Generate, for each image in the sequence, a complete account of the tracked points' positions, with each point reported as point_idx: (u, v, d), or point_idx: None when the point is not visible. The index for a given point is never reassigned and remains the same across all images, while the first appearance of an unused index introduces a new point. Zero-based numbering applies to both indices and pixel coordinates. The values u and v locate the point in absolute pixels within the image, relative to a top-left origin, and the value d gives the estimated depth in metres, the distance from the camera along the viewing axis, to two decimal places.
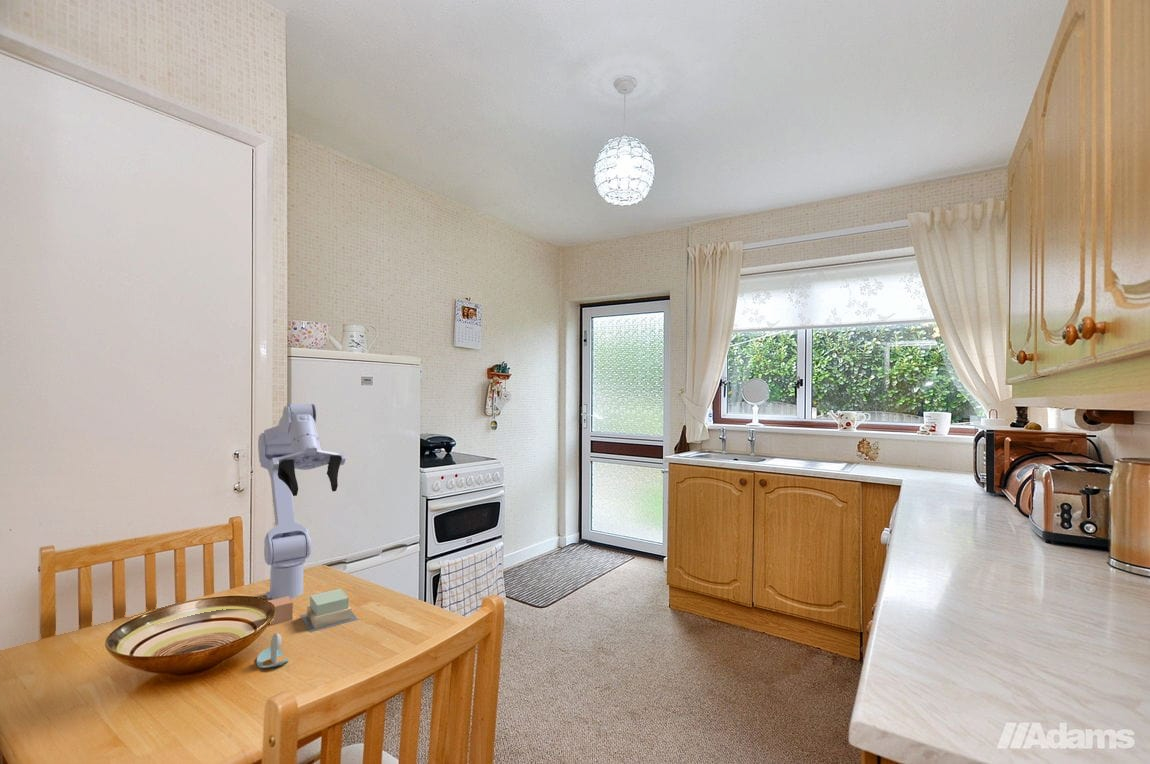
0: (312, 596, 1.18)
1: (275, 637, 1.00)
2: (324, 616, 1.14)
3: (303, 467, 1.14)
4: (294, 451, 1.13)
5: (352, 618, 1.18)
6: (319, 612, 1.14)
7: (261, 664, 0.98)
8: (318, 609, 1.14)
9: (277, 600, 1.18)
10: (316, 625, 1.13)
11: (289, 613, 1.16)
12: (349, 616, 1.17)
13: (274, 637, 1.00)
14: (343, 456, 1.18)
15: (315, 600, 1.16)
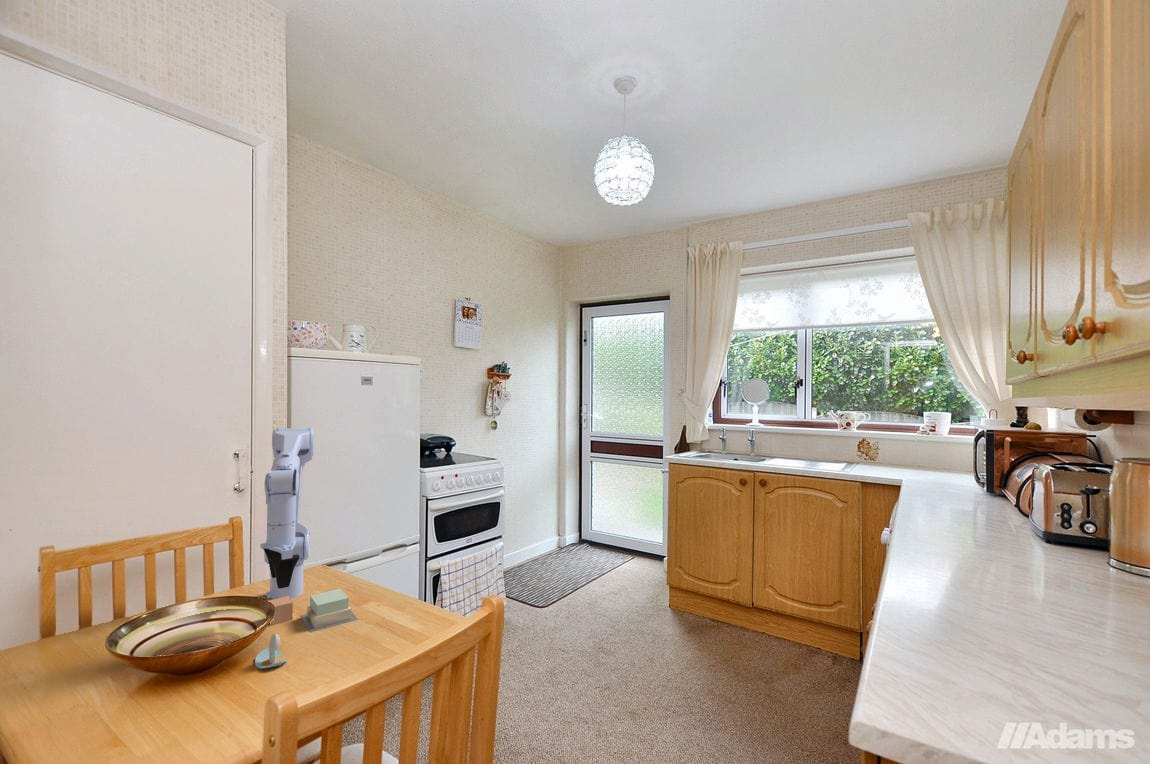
0: (312, 596, 1.18)
1: (273, 637, 0.99)
2: (324, 616, 1.14)
3: None
4: None
5: (352, 618, 1.18)
6: (319, 612, 1.14)
7: (259, 665, 0.98)
8: (318, 609, 1.14)
9: (277, 600, 1.18)
10: (316, 625, 1.13)
11: (289, 613, 1.16)
12: (349, 616, 1.17)
13: (272, 637, 1.00)
14: (281, 555, 1.11)
15: (315, 600, 1.16)
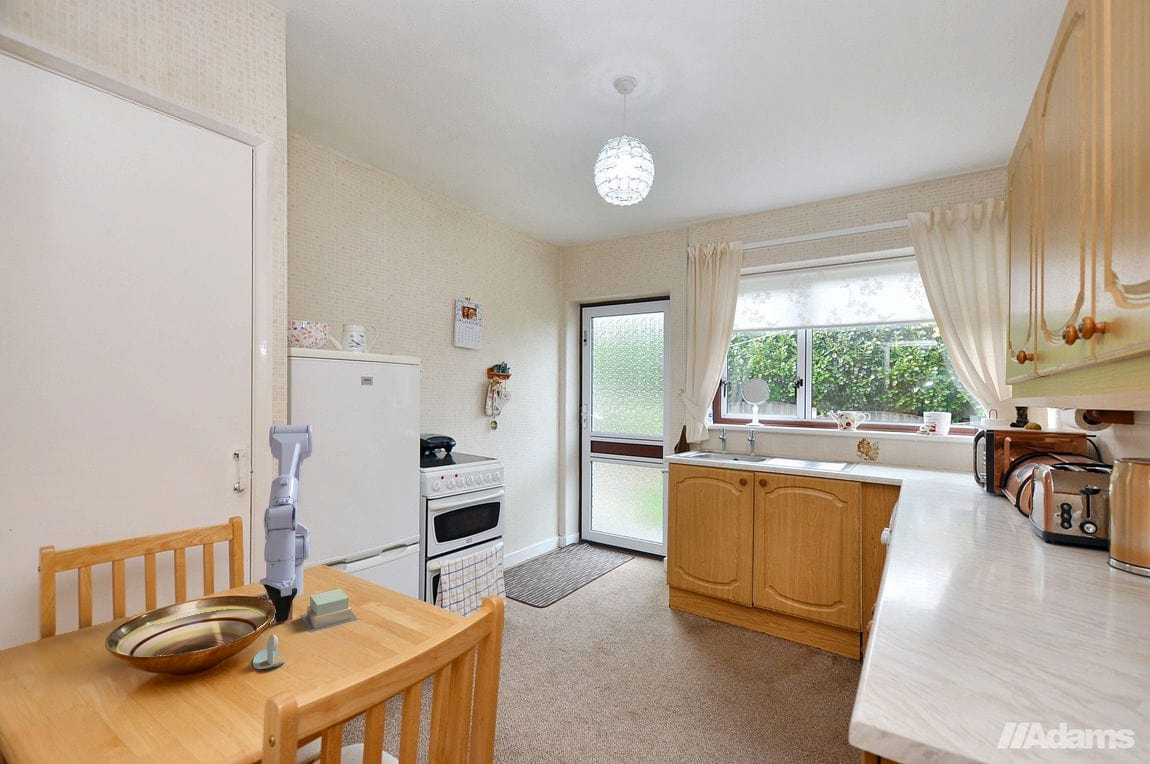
0: (312, 596, 1.18)
1: (272, 638, 0.99)
2: (324, 616, 1.14)
3: None
4: None
5: (352, 618, 1.18)
6: (319, 612, 1.14)
7: (257, 665, 0.98)
8: (318, 609, 1.14)
9: None
10: (316, 625, 1.13)
11: (289, 613, 1.16)
12: (349, 616, 1.17)
13: (271, 638, 0.99)
14: (281, 592, 1.11)
15: (315, 600, 1.16)
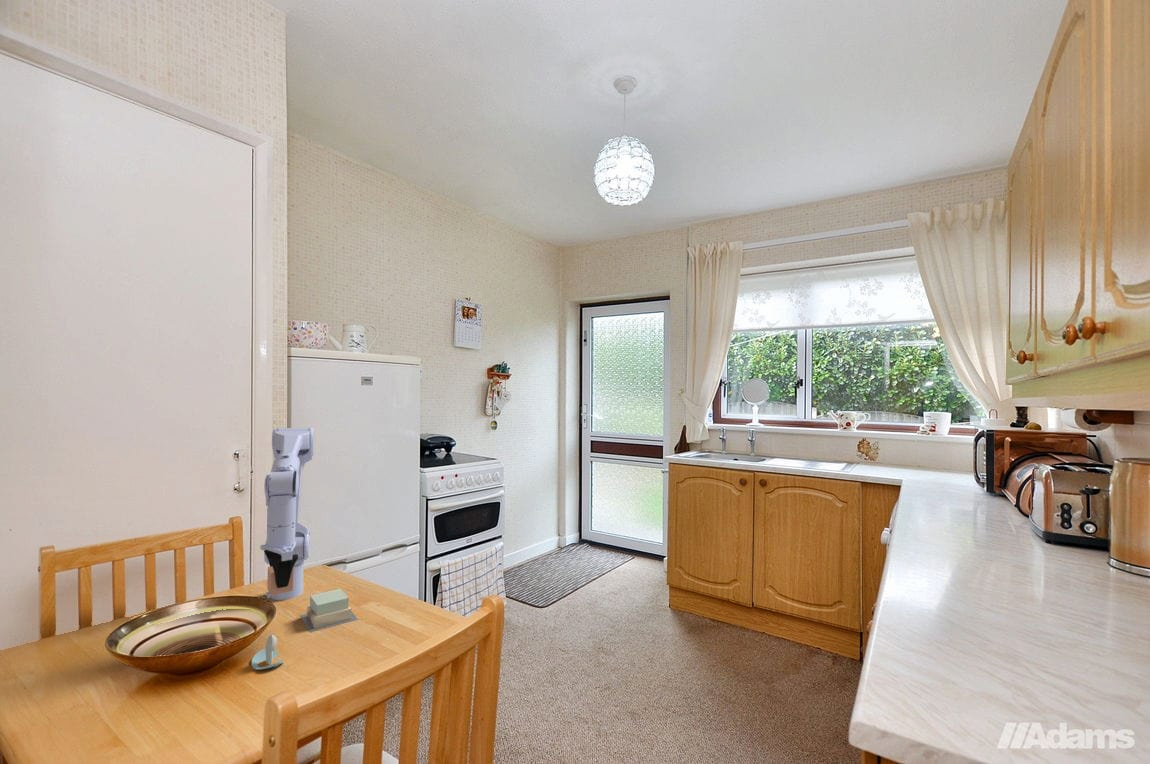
0: (312, 596, 1.18)
1: (270, 638, 0.99)
2: (324, 616, 1.14)
3: None
4: None
5: (352, 618, 1.18)
6: (319, 612, 1.14)
7: (256, 666, 0.98)
8: (318, 609, 1.14)
9: None
10: (316, 625, 1.13)
11: (290, 579, 1.16)
12: (349, 616, 1.17)
13: (269, 638, 0.99)
14: (281, 557, 1.11)
15: (315, 600, 1.16)
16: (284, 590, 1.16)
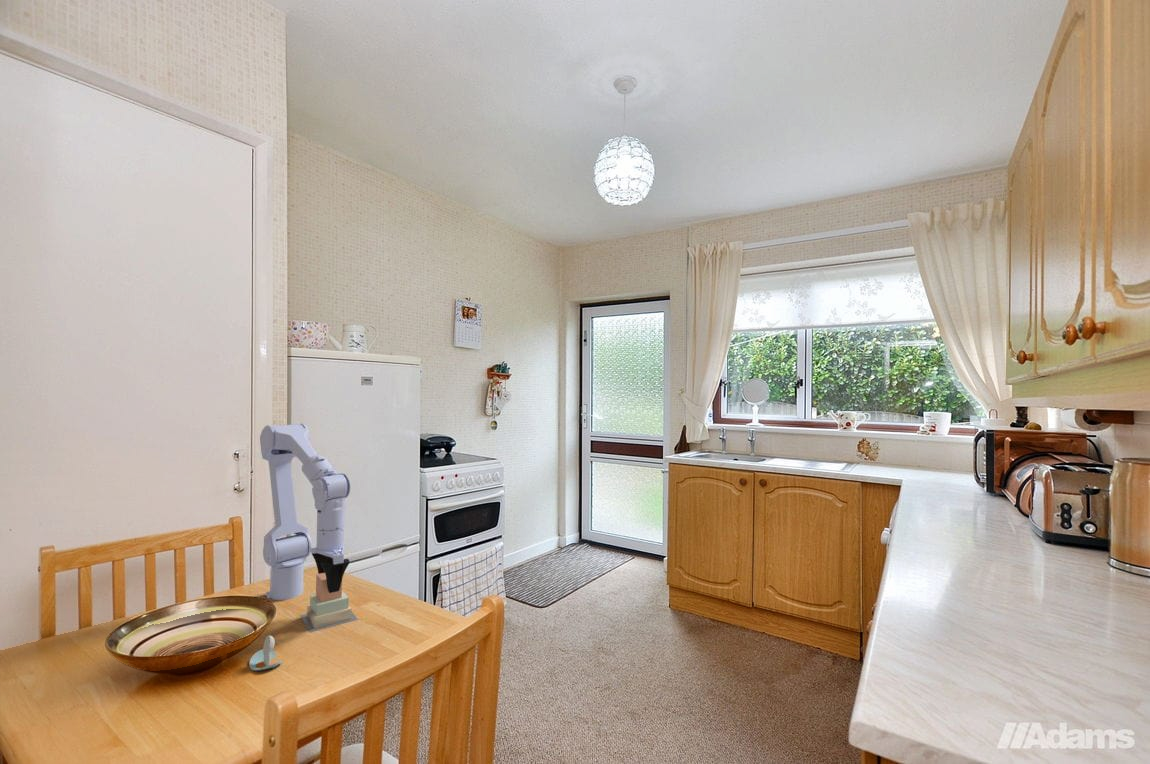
0: (312, 596, 1.18)
1: (268, 639, 0.99)
2: (324, 616, 1.14)
3: None
4: None
5: (352, 618, 1.18)
6: (319, 612, 1.14)
7: (254, 666, 0.97)
8: (318, 609, 1.14)
9: None
10: (316, 625, 1.13)
11: None
12: (349, 616, 1.17)
13: (267, 639, 0.99)
14: (333, 560, 1.12)
15: (315, 600, 1.16)
16: (333, 597, 1.17)
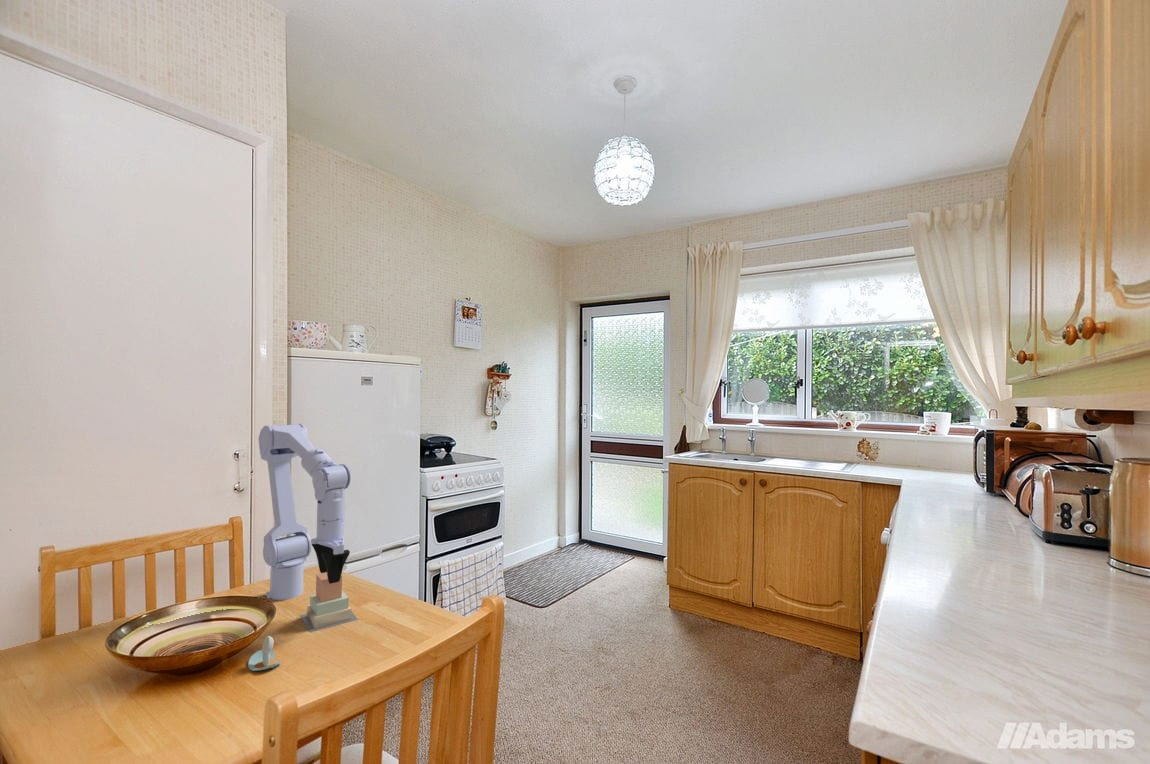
0: (312, 596, 1.18)
1: (267, 639, 0.99)
2: (324, 616, 1.14)
3: None
4: None
5: (352, 618, 1.18)
6: (319, 612, 1.14)
7: (253, 667, 0.97)
8: (318, 609, 1.14)
9: (326, 574, 1.19)
10: (316, 625, 1.13)
11: (338, 586, 1.17)
12: (349, 616, 1.17)
13: (266, 639, 0.99)
14: (333, 550, 1.12)
15: (315, 600, 1.16)
16: (333, 597, 1.17)
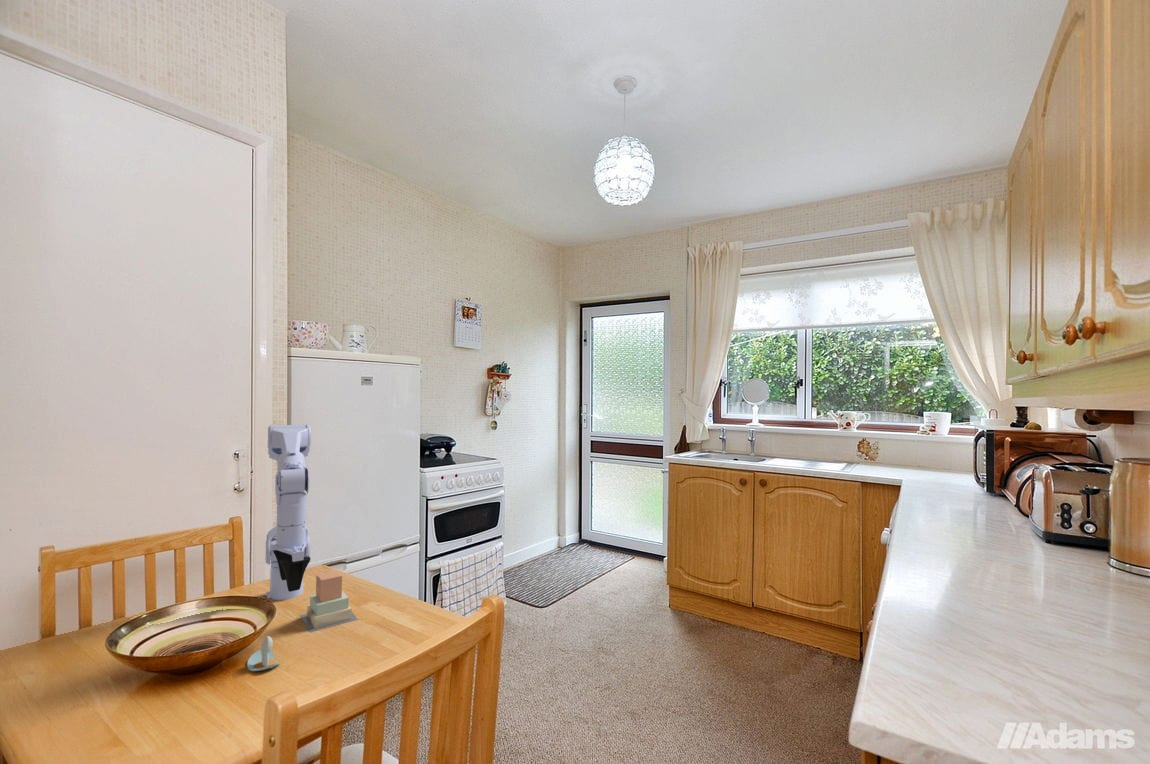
0: (312, 596, 1.18)
1: (266, 640, 0.99)
2: (324, 616, 1.14)
3: None
4: None
5: (352, 618, 1.18)
6: (319, 612, 1.14)
7: (252, 667, 0.97)
8: (318, 609, 1.14)
9: (326, 574, 1.19)
10: (316, 625, 1.13)
11: (338, 586, 1.17)
12: (349, 616, 1.17)
13: (265, 640, 0.99)
14: (292, 557, 1.07)
15: (315, 600, 1.16)
16: (333, 597, 1.17)
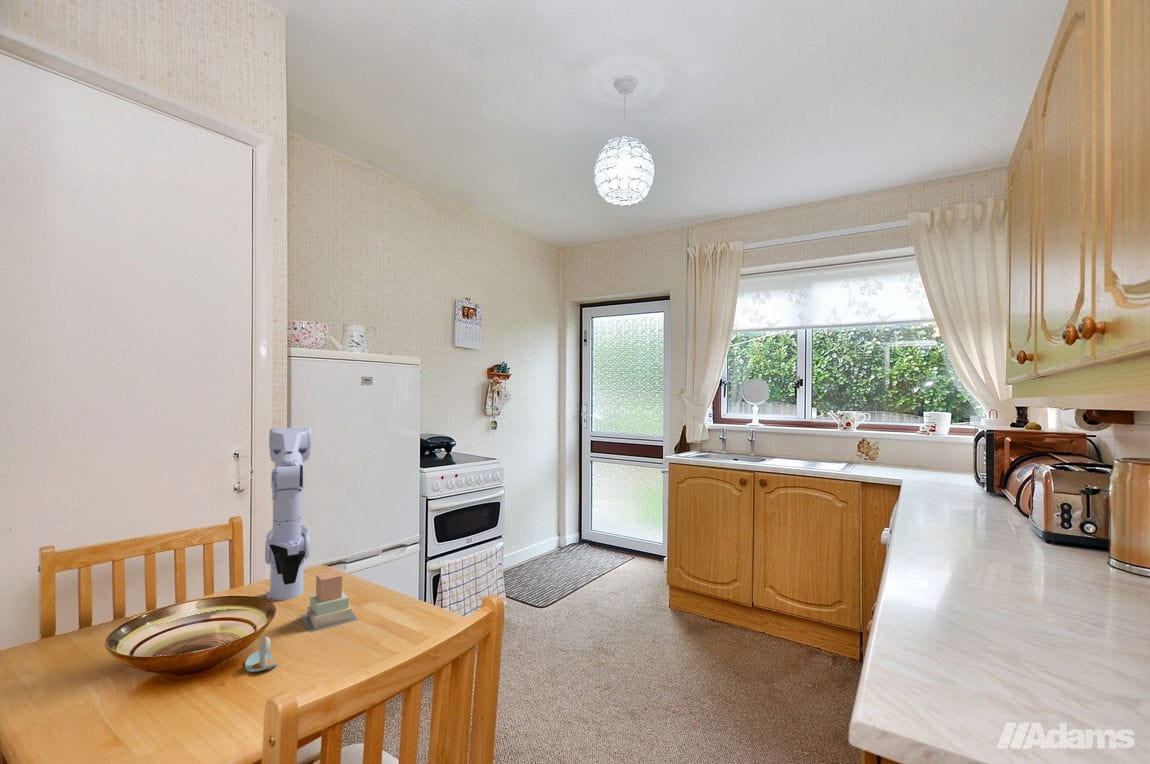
0: (312, 596, 1.18)
1: (264, 640, 0.98)
2: (324, 616, 1.14)
3: None
4: None
5: (352, 618, 1.18)
6: (319, 612, 1.14)
7: (249, 668, 0.97)
8: (318, 609, 1.14)
9: (326, 574, 1.19)
10: (316, 625, 1.13)
11: (338, 586, 1.17)
12: (349, 616, 1.17)
13: (263, 640, 0.99)
14: (288, 551, 1.11)
15: (315, 600, 1.16)
16: (333, 597, 1.17)
